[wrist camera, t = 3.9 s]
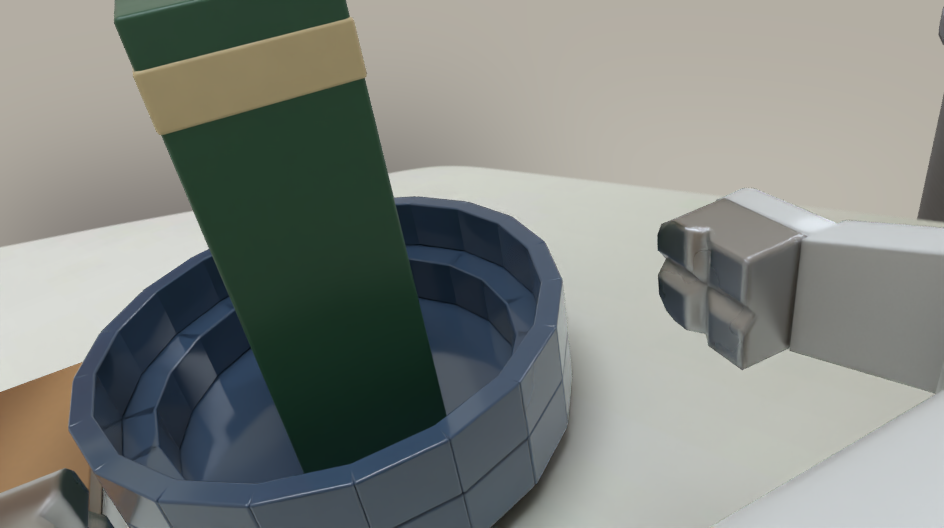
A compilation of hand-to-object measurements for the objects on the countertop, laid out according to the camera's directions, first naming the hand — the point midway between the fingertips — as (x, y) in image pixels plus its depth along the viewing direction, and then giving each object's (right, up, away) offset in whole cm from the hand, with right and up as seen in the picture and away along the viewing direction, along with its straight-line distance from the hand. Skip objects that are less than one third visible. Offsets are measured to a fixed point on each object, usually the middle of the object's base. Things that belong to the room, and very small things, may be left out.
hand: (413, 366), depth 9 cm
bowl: (-3, -3, +12) cm, 13 cm away
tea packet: (-3, -3, +11) cm, 12 cm away
